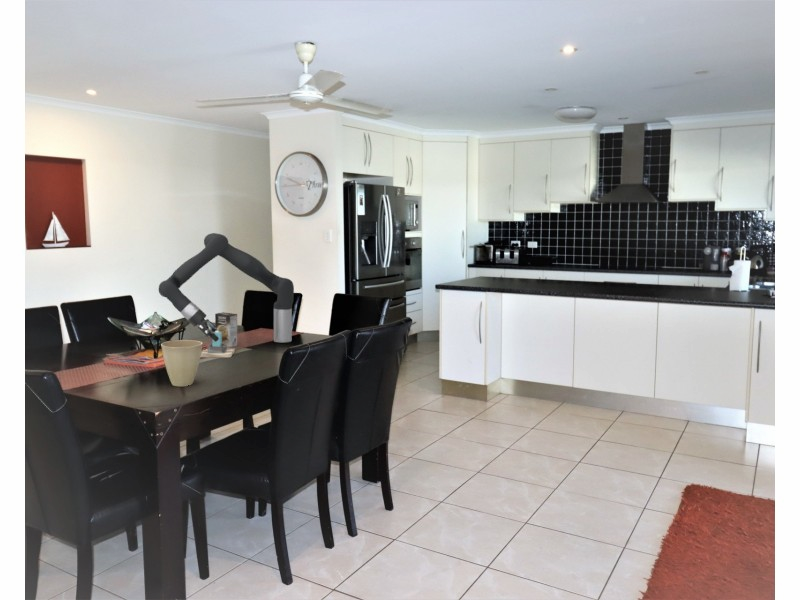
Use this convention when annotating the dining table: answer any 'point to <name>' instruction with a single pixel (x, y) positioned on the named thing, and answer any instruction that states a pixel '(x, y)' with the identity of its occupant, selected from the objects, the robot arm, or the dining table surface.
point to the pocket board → (218, 351)
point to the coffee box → (227, 327)
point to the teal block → (219, 341)
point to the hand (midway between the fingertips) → (219, 338)
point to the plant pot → (182, 360)
